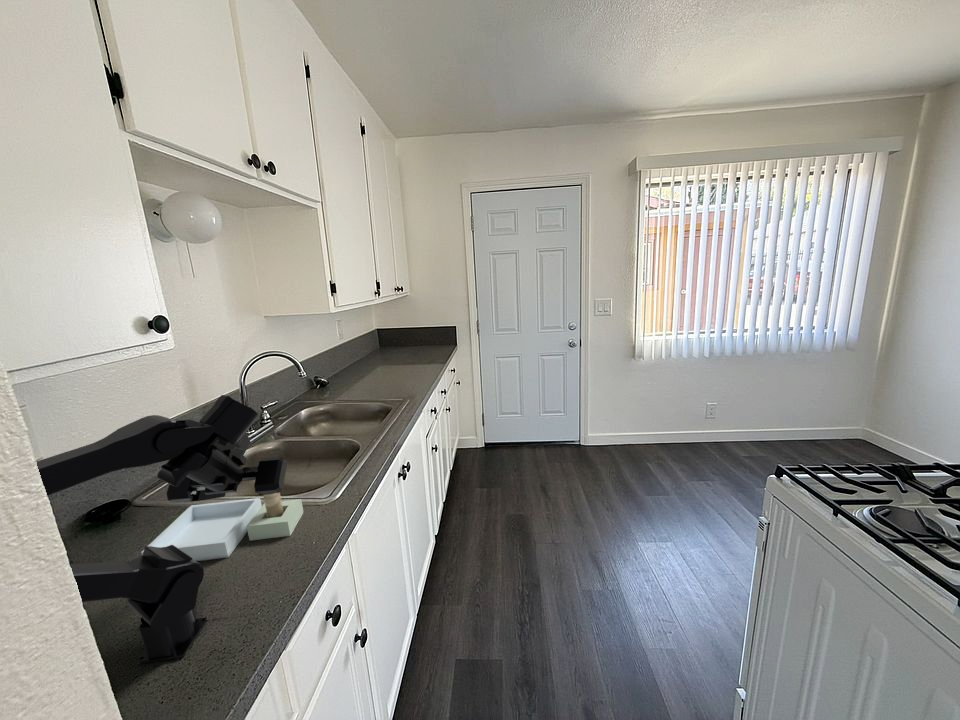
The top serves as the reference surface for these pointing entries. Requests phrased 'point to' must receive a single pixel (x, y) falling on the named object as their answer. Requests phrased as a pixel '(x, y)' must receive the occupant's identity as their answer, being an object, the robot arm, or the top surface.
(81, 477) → the robot arm
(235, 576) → the top surface
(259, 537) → the dowel block
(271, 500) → the dowel
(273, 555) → the top surface
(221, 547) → the tray
